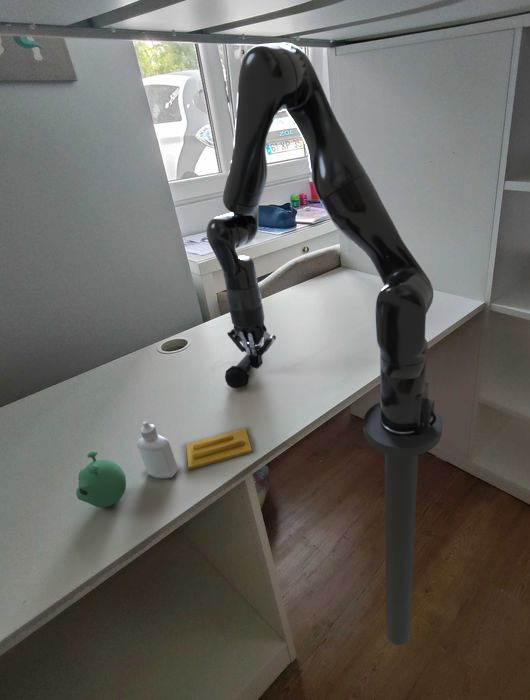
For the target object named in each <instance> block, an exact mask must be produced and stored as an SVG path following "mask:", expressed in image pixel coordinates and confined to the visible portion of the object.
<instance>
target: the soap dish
mask: <svg viewBox="0 0 530 700" xmlns="http://www.w3.org/2000/svg"><path fill="white" fill-rule="evenodd" d="M248 434H249V433H248V432H247V428H246V427H245V428H240V429H237V430H233V431H229V432H226V433H222V434H219V435H215V436H210V437H207V438H203V439H199V440H195V441H192V442H188V443H186V444H185V446H186V447H185V448H186V456H187V458H186V459H187V469H188V470H194V469H197V468H200V467H204V466H208V465H211V464H215V463H219V462H221V461H225V460H229V459H231V458H235V457H239V456H242V455H246V454H251V453H253V450H252V445H251V442H250V439H249V435H248Z"/></svg>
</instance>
